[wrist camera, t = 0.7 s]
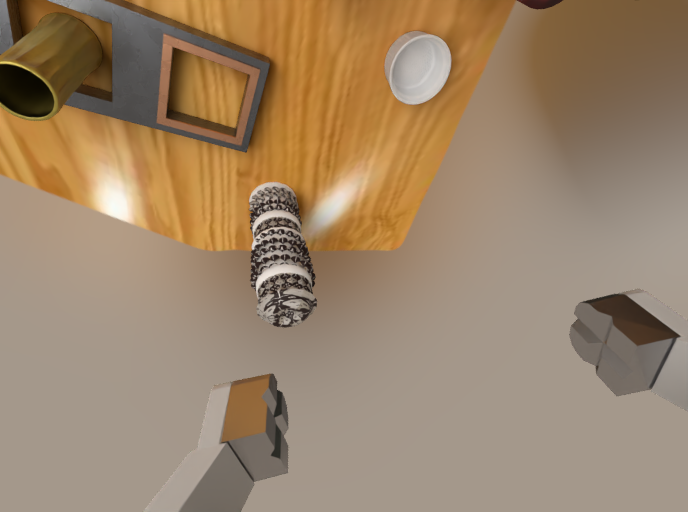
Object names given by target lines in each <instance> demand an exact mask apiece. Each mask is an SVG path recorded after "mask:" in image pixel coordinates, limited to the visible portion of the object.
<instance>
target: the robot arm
mask: <svg viewBox="0 0 688 512" xmlns="http://www.w3.org/2000/svg"><path fill="white" fill-rule="evenodd" d="M574 314H575V315H576V316H577V317H578V319H577V320H576V321H575V322H574V323H573V324H572V325H571V329H570V339H571V343H572V346H573V347H574V349H575V351H576V352H577V354H578V355H579V356H580V357H581V358H582V359H583V360H584V361H586V362H588V363H590V364H593V365H595V366H596V374H597V376H598V377H599V378H600V379H601V380H602V381H603V382H604V383H605V384H606V385H607V386H608V387H609V388H610V390H611V391H612V392H613V393H614V394H615V395H616V396H621V395H626V394H631V393H635V392H640V391H645V390H650V389H652V390H651V392H653V393H655V394H657V395H659V396H660V397H662V398H664V399H666V400H668V401H670V402H671V403H673V404H675V405H677V406H679V407H680V408H682V409H684V410H686V411H688V320H687V319H686V318H684V317H683V316H681V315H680V314H678V313H677V312H675V311H674V310H673V309H671V308H670V307H668V306H667V305H665V304H664V303H663V302H661V301H660V300H658V299H657V298H655V297H654V296H653V295H651V294H650V293H648V292H647V291H644V290H641V289H635V290H630V291H626V292H622V293H618V294H612V295H608V296H604V297H600V298H596V299H592V300H587V301H583V302H580V303H579V304H578V305H577V306H576V309H575V312H574ZM287 430H288V412H287V405H286V401H285V398H284V396H283V393H282V392H280V391H278V390H277V380H276V378H275V376H274V374H267V375H262V376H257V377H252V378H247V379H242V380H237V381H233V382H228V383H223V384H219V385H215V386H214V387H213V389H212V390H211V392H210V396H209V400H208V404H207V408H206V413H205V417H204V422H203V426H202V430H201V434H200V438H199V443H198V447H197V449H196V450H192V451H190V452H189V454H188V455H187V456H186V458H185V459H184V460H183V462H182V463H181V464H180V465H179V467H178V468H177V469H176V470H175V472H174V473H173V474H172V476H171V477H170V478H169V479H168V481H167V482H166V483H165V484H164V486H163V487H162V488H161V490H160V491H159V492H158V493H157V495H156V496H155V497H154V499H153V500H152V501H151V502H150V504H149V505H148V506H147V508H146V509H145V510H144V511H143V512H241V510H242V508H243V506H244V504H245V502H246V500H247V498H248V496H249V494H250V492H251V490H252V488H253V486H254V482H255V481H259V480H263V479H267V478H270V477H274V476H278V475H282V474H286V473H288V445H287V442H286V440H285V438H284V434H285V433H286V431H287Z"/></svg>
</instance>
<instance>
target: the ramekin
mask: <svg viewBox="0 0 688 512" xmlns="http://www.w3.org/2000/svg"><path fill="white" fill-rule="evenodd" d="M384 69H385V75H386V78H387V80H388V82H389V84H390V88H391V90H392V92H393V94H394V96H395V97H396V98H397V99H398V100H399V101H401V102H403V103H405V104H410V105H416V104H421V103H424V102H426V101H428V100H430V99H431V98H433V97H434V96H435V95H436V94H437V93H438V92H439V91H440V90H441V89H442V87H443V86H444V84H445V83H446V81H447V78H448V76H449V73H450V69H451V54H450V50H449V48H448V46H447V44H446V43H445V42H444V41H443V40H442V39H441V38H439V37H438V36H435V35H431V34H427V33H425V32H421V31H411V32H408V33H406V34H404V35H402V36H400V37H399V38H398V39H397V40H396V41H395V42H394V43H393V44H392V46H391V47H390V49H389V50H388V53H387V55H386V59H385V66H384Z"/></svg>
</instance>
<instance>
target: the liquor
mask: <svg viewBox="0 0 688 512" xmlns="http://www.w3.org/2000/svg"><path fill="white" fill-rule="evenodd" d="M517 1H519V2H521V3H523V4H525V5H526V6H528V7H530V8H534V9H545V8H549V7H552V6H554V5H556V4H558V3H560V2H561V1H562V0H517Z"/></svg>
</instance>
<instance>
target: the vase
mask: <svg viewBox="0 0 688 512" xmlns="http://www.w3.org/2000/svg"><path fill="white" fill-rule="evenodd" d="M101 61H102V48H101V45H100V43H99V41H98V39H97V37H96V35H95V34H94V33H93V32H92V31H91V30H90V29H89V28H88V27H87V26H86V25H85V24H84V23H83V22H81V21H80V20H78V19H76V18H75V17H72V16H70V15H67V14H63V13H51V14H47V15H45V16H44V17H42V18H41V20H40V21H39V23H38V25H37V26H36V27H35V28H34V29H33V30H32V31H31V32H30V33H28V34H27V35H26V36H24V37H23V38H22V39H21V40H19V41H18V42H17V43H16V44H15V45H13V46H12V47H11V48H9V49H8V50H7V51H5V52H4V53H3V54H1V55H0V106H1V107H2V108H3V109H5V110H6V111H7V112H9V113H11V114H12V115H14V116H17V117H19V118H22V119H26V120H31V121H42V120H47V119H49V118H51V117H53V116H54V115H56V114H57V113H58V112H59V111H60V109H61V108H62V106H63V105H64V104H65V103H66V101H67V100H68V99H69V97H70V96H71V95H72V94H73V93H74V91H75V90H76V89H77V88H78V87H79V86H80V85H81V84H82V82H83V81H84V80H85V78H86V77H87V75H89V74H90V73H91V72H92V71H94V70H95V69H97V68H98V67H99V66H100V64H101Z"/></svg>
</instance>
